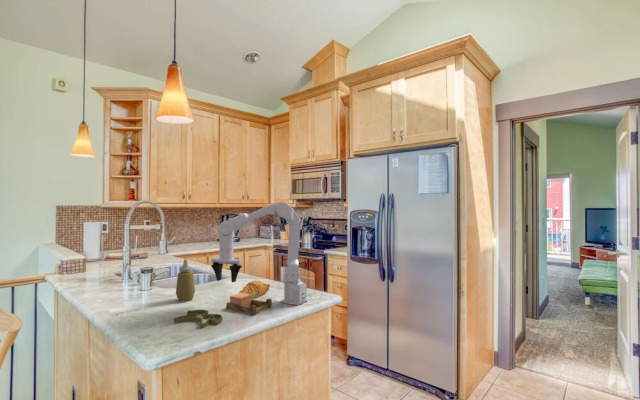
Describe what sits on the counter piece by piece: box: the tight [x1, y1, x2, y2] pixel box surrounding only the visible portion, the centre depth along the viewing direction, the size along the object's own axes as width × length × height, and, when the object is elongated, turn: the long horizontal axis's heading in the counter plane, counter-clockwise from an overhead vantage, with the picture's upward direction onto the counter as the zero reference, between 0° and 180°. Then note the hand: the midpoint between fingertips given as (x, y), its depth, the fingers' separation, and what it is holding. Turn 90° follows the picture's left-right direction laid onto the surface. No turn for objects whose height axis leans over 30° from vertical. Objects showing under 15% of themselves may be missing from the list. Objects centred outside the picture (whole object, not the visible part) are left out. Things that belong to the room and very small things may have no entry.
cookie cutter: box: [173, 309, 223, 329], centre depth 124 cm, size 18×12×2 cm, turn 65°
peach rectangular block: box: [229, 292, 252, 306], centre depth 139 cm, size 6×6×4 cm
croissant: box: [238, 280, 271, 299], centre depth 158 cm, size 21×10×8 cm, turn 149°
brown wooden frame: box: [225, 298, 272, 316], centre depth 138 cm, size 15×11×4 cm
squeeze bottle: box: [175, 258, 196, 302], centre depth 150 cm, size 8×8×18 cm
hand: (226, 281), depth 143 cm, fingers open, 7 cm apart
